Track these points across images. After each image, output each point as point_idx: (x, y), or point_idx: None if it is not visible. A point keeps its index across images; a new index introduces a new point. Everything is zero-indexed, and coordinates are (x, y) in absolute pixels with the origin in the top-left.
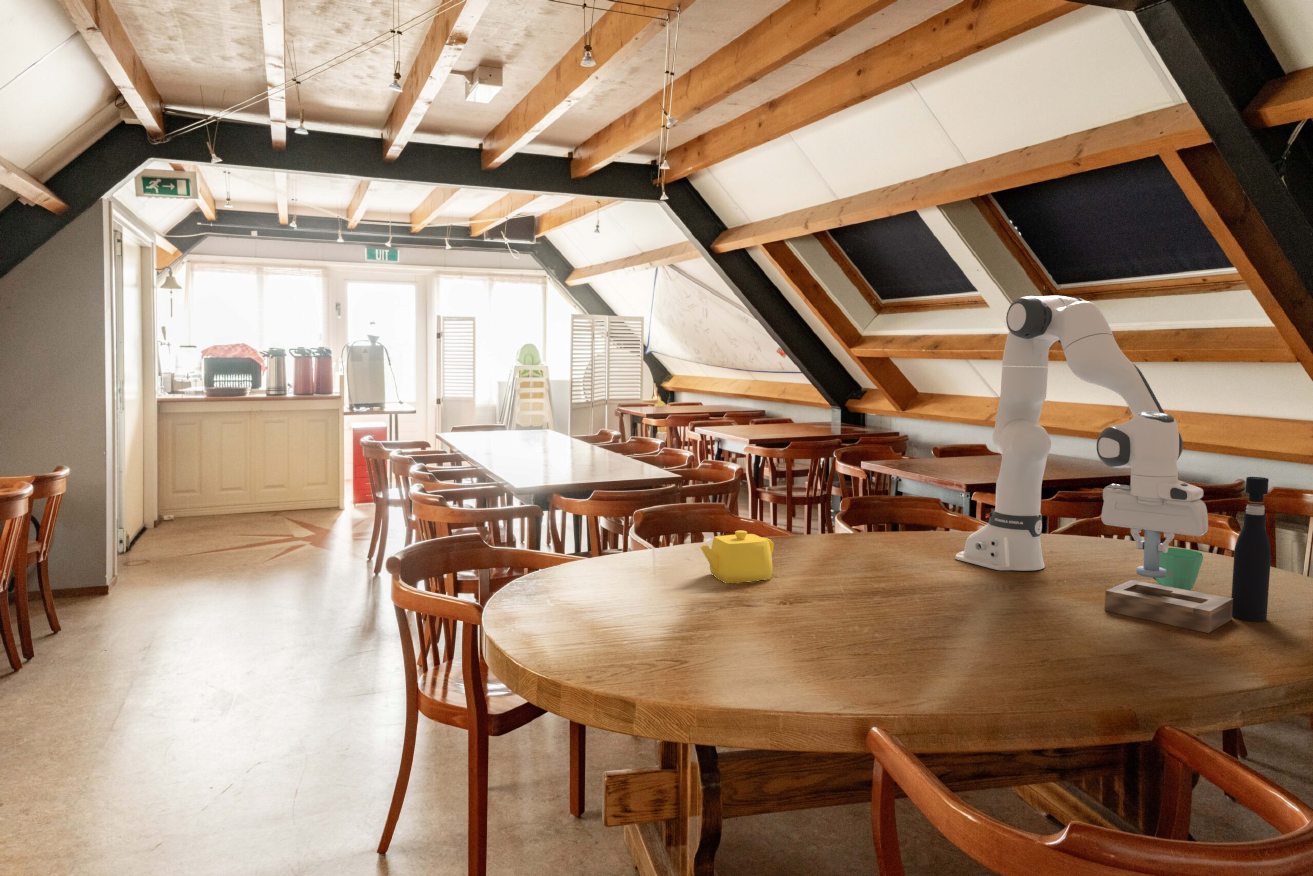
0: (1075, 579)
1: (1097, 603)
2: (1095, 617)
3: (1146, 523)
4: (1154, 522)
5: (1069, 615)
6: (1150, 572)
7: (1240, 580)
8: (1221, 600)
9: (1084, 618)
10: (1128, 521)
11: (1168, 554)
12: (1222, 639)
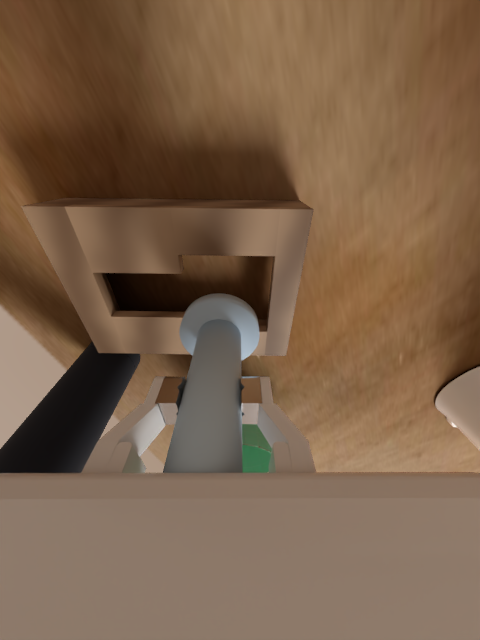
0: (383, 375)
1: (326, 255)
2: (304, 90)
3: (208, 533)
4: (141, 558)
5: (384, 23)
6: (205, 303)
7: (75, 392)
8: (96, 327)
9: (331, 30)
10: (348, 531)
11: (260, 459)
12: (14, 166)
